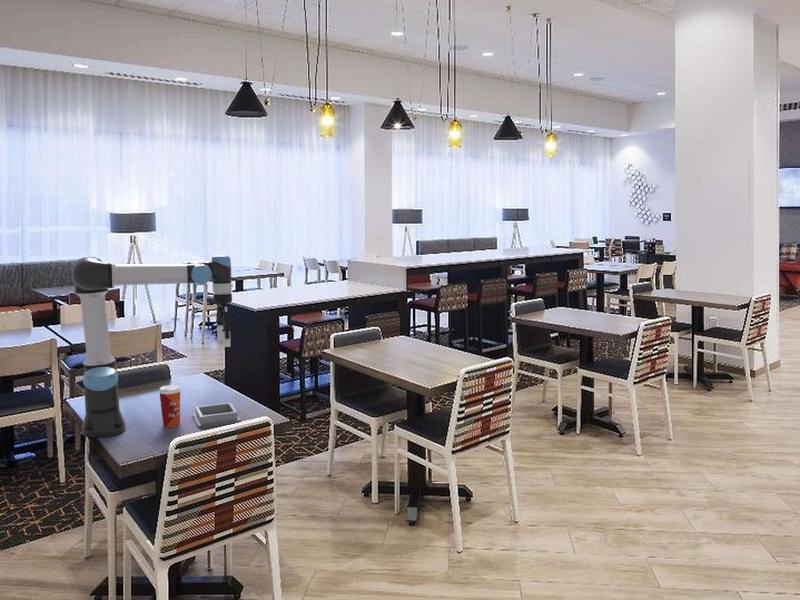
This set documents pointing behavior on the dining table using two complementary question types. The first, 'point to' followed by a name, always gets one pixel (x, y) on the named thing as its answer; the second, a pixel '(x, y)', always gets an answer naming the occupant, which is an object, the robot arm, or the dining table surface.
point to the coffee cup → (170, 405)
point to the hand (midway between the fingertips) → (223, 343)
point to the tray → (215, 415)
